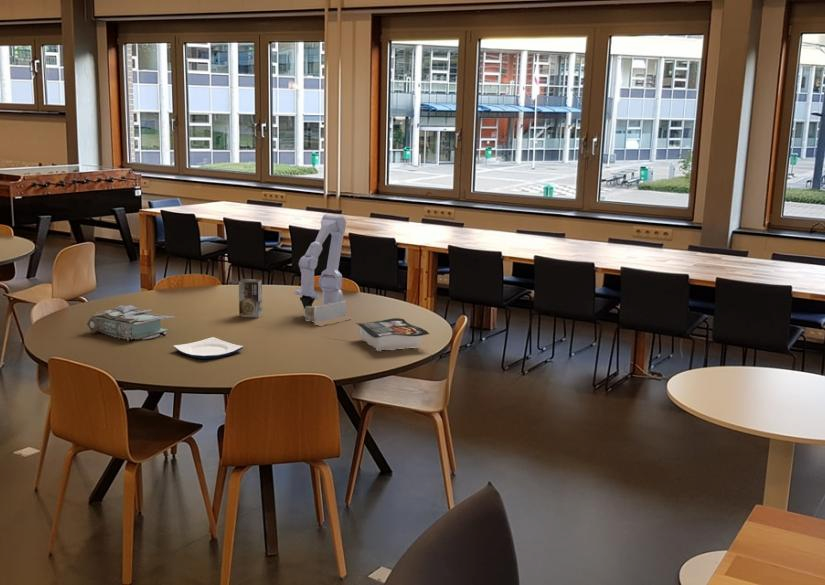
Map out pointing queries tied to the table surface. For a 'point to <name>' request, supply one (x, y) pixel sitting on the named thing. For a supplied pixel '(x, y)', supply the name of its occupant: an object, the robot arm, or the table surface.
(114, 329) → the ornate clasped book
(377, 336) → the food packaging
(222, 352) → the plate
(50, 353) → the table surface
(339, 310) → the metal bookend
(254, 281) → the coffee box
